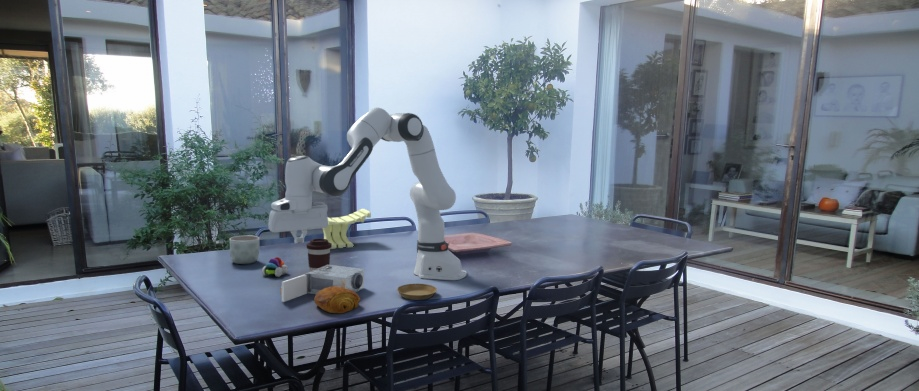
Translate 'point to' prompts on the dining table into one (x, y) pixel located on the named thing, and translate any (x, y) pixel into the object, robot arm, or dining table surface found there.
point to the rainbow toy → (275, 267)
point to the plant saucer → (417, 291)
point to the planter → (244, 249)
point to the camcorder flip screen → (294, 287)
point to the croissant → (337, 299)
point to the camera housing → (335, 278)
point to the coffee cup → (318, 253)
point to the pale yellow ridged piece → (343, 228)
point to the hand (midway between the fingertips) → (299, 242)
